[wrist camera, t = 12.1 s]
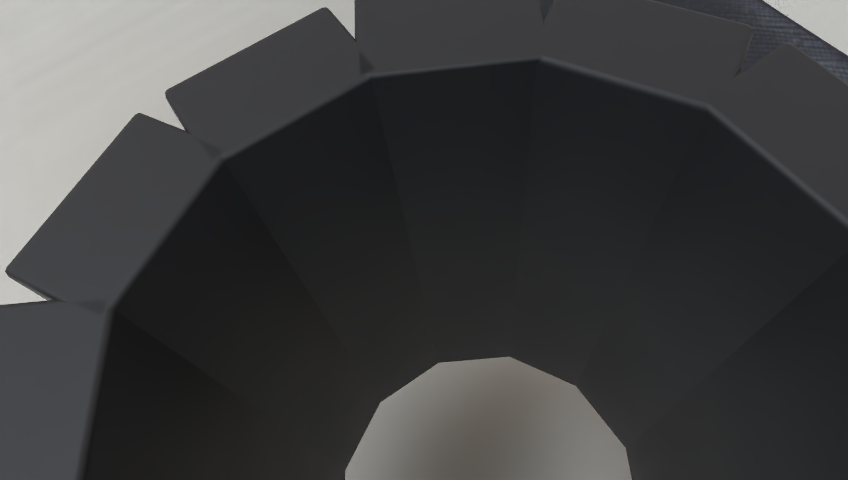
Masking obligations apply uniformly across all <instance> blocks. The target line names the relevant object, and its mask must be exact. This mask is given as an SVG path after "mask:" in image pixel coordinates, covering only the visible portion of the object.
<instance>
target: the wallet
mask: <svg viewBox="0 0 848 480" xmlns="http://www.w3.org/2000/svg"><path fill="white" fill-rule="evenodd" d="M553 1H554V0H540V2H541V7H542V11H543V16H544V17H545V16H546V14H547V12H548V10H549V8H550V6H551V5H552V3H553ZM653 1H657V2H661V3H665V4H669V5H673V6H677V7H681V8H685V9H689V10H693V11H697V12H701V13H705V14H709V15H713V16H717V17H720V18H724V19H728V20H732V21H736V22H740V23H744V24H748V25H750V26H751V27H752V28H753V36H752V39H751V42H750V45H749V48H748V50H747V53H746V56H745V59H744V62H743V65H742V67H741V70H740V72H741V71H743V70H744V69H746V68H747V67H749V66H750V65H752V64H753V63H755V62H756V61H758V60H760V59H761V58H763V57H764V56H766V55H767V54H769V53H770V52H772V51H774V50H775V49H777V48H778V47H780V46H781V45H783V44H784V43H791V44H793V45H794V46H796V47H797V48H799V49H800V50H801V51H803V52H804V53H805V54H807V55H808V56H810V57H811V58H812V59H814V60H815V61H817V62H818V63H819V64H821V65H822V66H823V67H825V68H826V69H828V70H829V71H830V72H832V73H833V74H835V75H836V76H837V77H839V78H840V79H841V80H843V81H844V82H846V83H847V84H848V56H847V55H845V54H844V53H842V52H841V51H839V50H838V49H836V48H835V47H833V46H832V45H830V44H828V43H827V42H825V41H824V40H822V39H821V38H819V37H818V36H816V35H814V34H813V33H811V32H810V31H808V30H807V29H805V28H804V27H802V26H801V25H799V24H797V23H796V22H794V21H793V20H791V19H790V18H788V17H787V16H785V15H783V14H782V13H780V12H779V11H777V10H776V9H774V8H773V7H771V6H770V5H768V4H767V3H766V2H764V1H763V0H653Z"/></svg>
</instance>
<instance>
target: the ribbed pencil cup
mask: <svg viewBox="0 0 848 480" xmlns="http://www.w3.org/2000/svg"><path fill="white" fill-rule="evenodd" d="M752 36H753V28H752V27H751V26H750V25H748V24H744V23H740V22H736V21H732V20H728V19H724V18H720V17H717V16H713V15H709V14H705V13H701V12H697V11H693V10H689V9H685V8H681V7H677V6H673V5H669V4H665V3H661V2H657V1H653V0H554V1H553V3H552V5H551V6H550V8H549V10H548V12H547V14H546V16H545V17H544V16H543V11H542V7H541V2H540V0H355V39H354V38H353V36H352V35H351V34H350V33H349V32H348V31H347V29H346V28H345V27H344V26H343V25H342V24H341V23H340V21H339V20H338V19H337V18H336V17H335V16H334V15H333V13H332V12H331V11H330V10H329V9H328V8H326V7H325V8H321V9H319V10H317V11H315V12H314V13H312V14H310V15H308V16H306V17H304V18H302V19H300V20H298V21H296V22H295V23H293V24H291V25H289V26H287V27H285V28H283V29H281V30H279V31H278V32H276V33H274V34H272V35H270V36H268V37H266V38H264V39H262V40H260V41H259V42H257V43H255V44H253V45H251V46H249V47H247V48H245V49H243V50H242V51H240V52H238V53H236V54H234V55H232V56H230V57H228V58H226V59H224V60H223V61H221V62H219V63H217V64H215V65H213V66H211V67H209V68H207V69H206V70H204V71H202V72H200V73H198V74H196V75H194V76H192V77H190V78H188V79H187V80H185V81H183V82H181V83H179V84H177V85H175V86H173V87H171V88H169V89H168V90H167V91H166V92H165V94H166V99H167V101H168V102H169V104H170V106H171V107H172V109H173V111H174V112H175V114H176V116H177V117H178V119H179V121H180V122H181V124H182V126H183V127H184V129H185V131H184V130H182V129H179V128H177V127H174V126H172V125H169V124H166V123H164V122H161V121H159V120H156V119H154V118H151V117H149V116H146V115H144V114H141V113H138V114H136V115H134V117H133V118H132V119H131V120H130V121H129V123H128V124H127V125H126V126H125V127H124V129H123V130H122V131H121V132H120V133H119V135H118V136H117V137H116V138H115V139H114V140H113V142H112V143H111V144H110V145H109V146H108V148H107V149H106V150H105V151H104V152H103V154H102V155H101V156H100V157H99V158H98V160H97V161H96V162H95V163H94V164H93V165H92V167H91V168H90V169H89V170H88V171H87V173H86V174H85V175H84V176H83V177H82V179H81V180H80V181H79V182H78V183H77V184H76V186H75V187H74V188H73V189H72V190H71V192H70V193H69V194H68V195H67V196H66V198H65V199H64V200H63V201H62V202H61V204H60V205H59V206H58V207H57V208H56V209H55V211H54V212H53V213H52V214H51V215H50V217H49V218H48V219H47V220H46V221H45V223H44V224H43V225H42V226H41V227H40V229H39V230H38V231H37V232H36V233H35V234H34V236H33V237H32V238H31V239H30V240H29V242H28V243H27V244H26V245H25V246H24V248H23V249H22V250H21V251H20V252H19V253H18V255H17V256H16V257H15V258H14V259H13V261H12V262H11V263H10V264H9V265H8V267H7V268H6V271H5V272H6V273H7V275H8V276H9V277H10V278H12V279H13V280H15V281H17V282H18V283H20V284H22V285H23V286H25V287H26V288H28V289H30V290H31V291H33V292H35V293H36V294H38V295H40V296H41V297H43V298H44V299H46V300H48V301H39V302H28V303H18V304H7V305H0V480H345V469H346V467H347V466H348V464H349V462H350V460H351V458H352V456H353V454H354V452H355V450H356V448H357V446H358V444H359V442H360V440H361V438H362V437H363V435H364V433H365V431H366V429H367V427H368V425H369V423H370V421H371V419H372V417H373V415H374V413H375V411H376V409H377V408H378V406H379V404H380V402H381V401H383V400H384V399H386V398H387V397H389V396H390V395H392V394H393V393H395V392H396V391H398V390H399V389H401V388H402V387H403V386H405V385H406V384H408V383H409V382H411V381H412V380H414V379H415V378H417V377H418V376H420V375H421V374H423V373H424V372H426V371H427V370H428V369H430V368H431V367H433V366H434V365H436V364H437V363H440V362H451V361H463V360H474V359H486V358H497V357H509V356H510V357H512V358H514V359H516V360H519V361H521V362H523V363H525V364H528V365H530V366H532V367H535V368H537V369H539V370H541V371H544V372H546V373H548V374H550V375H553V376H555V377H557V378H560V379H562V380H564V381H566V382H569V383H571V384H573V385H575V386H577V388H578V389H579V390H580V391H581V393H582V394H583V395H584V396H585V398H586V399H587V400H588V401H589V403H590V404H591V405H592V406H593V408H594V409H595V410H596V411H597V413H598V414H599V415H600V416H601V418H602V419H603V420H604V421H605V423H606V424H607V425H608V426H609V428H610V429H611V430H612V431H613V433H614V434H615V435H616V436H617V437H618V439H619V440H620V441H621V442H622V444H623V445H624V446H625V447H626V451H627V456H628V461H629V466H630V471H631V476H632V480H848V84H847V83H846V82H844V81H843V80H841V79H840V78H839V77H837V76H836V75H835V74H833V73H832V72H830V71H829V70H828V69H826V68H825V67H823V66H822V65H821V64H819V63H818V62H817V61H815V60H814V59H812V58H811V57H810V56H808V55H807V54H805V53H804V52H803V51H801V50H800V49H799V48H797V47H796V46H794V45H793V44H791V43H784V44H783V45H781V46H780V47H778V48H777V49H775V50H774V51H772V52H770V53H769V54H767V55H766V56H764V57H763V58H761V59H760V60H758V61H756V62H755V63H753V64H752V65H750V66H749V67H747V68H746V69H744V70H743V71H741V72H740V70H741V67H742V65H743V62H744V59H745V56H746V53H747V50H748V48H749V45H750V42H751V39H752Z"/></svg>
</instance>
